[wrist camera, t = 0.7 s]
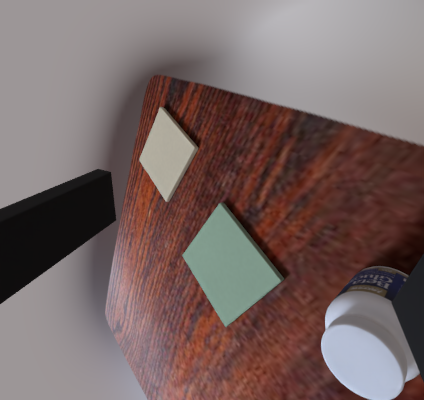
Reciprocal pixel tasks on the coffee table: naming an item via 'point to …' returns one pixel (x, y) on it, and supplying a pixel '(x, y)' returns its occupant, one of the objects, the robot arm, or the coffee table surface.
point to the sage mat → (230, 265)
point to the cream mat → (167, 153)
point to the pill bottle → (368, 336)
